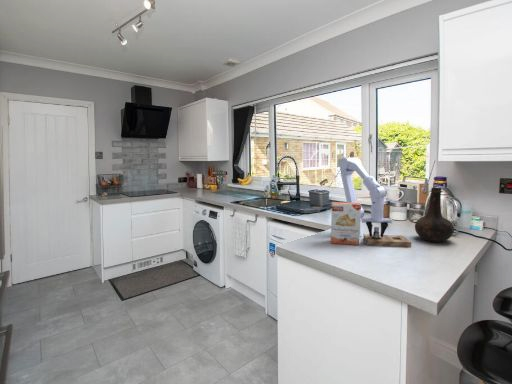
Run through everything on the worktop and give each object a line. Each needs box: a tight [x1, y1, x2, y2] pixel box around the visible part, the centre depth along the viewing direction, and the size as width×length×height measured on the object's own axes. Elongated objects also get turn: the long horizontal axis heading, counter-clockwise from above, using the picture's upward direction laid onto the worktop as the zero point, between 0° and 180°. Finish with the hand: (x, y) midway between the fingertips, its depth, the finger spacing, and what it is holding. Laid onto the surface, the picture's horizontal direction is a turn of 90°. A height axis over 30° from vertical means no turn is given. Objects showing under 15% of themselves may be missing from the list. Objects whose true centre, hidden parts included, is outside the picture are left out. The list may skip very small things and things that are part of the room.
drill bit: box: [372, 226, 380, 239], centre depth 150 cm, size 3×3×8 cm
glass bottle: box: [414, 186, 455, 243], centre depth 152 cm, size 18×18×28 cm
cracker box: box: [330, 201, 362, 246], centre depth 148 cm, size 14×6×21 cm, turn 76°
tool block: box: [362, 233, 412, 248], centre depth 149 cm, size 20×12×2 cm, turn 81°
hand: (376, 236), depth 150 cm, fingers open, 5 cm apart
